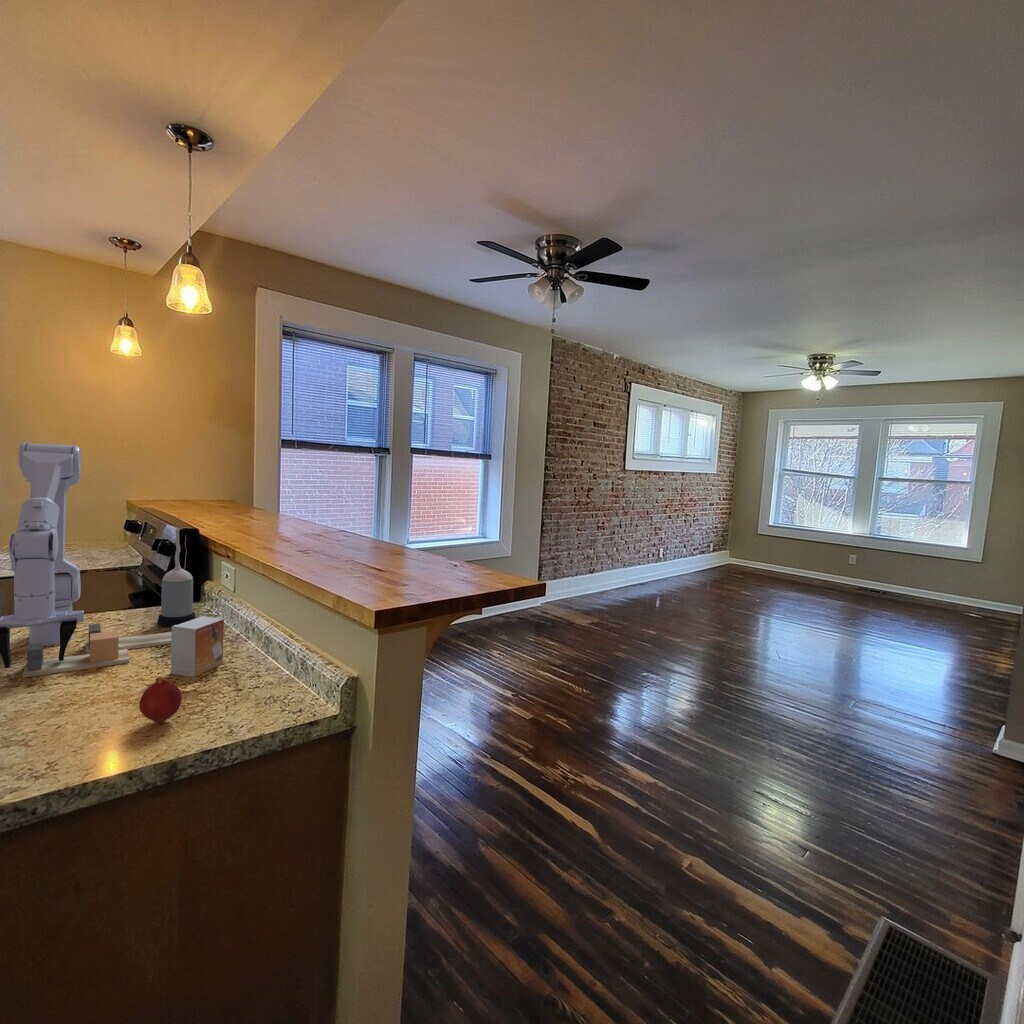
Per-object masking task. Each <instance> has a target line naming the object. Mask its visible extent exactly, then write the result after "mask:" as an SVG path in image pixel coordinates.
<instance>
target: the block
mask: <svg viewBox="0 0 1024 1024" xmlns="http://www.w3.org/2000/svg"><path fill="white" fill-rule="evenodd" d="M118 632H119V631H118V630H114V631H113V630H112V631H105V632H101V633H94V634H90V662H98V661H105V660H112V659H118V638H119V633H118Z"/></svg>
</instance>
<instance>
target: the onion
mask: <svg viewBox="0 0 1024 1024" xmlns="http://www.w3.org/2000/svg"><path fill="white" fill-rule="evenodd" d="M182 695H183V694H182V691H181V690H180V688H179V687H178V686H177V685H176V684H175V683H174V682H172V681H171V680H167V679H166V678H165V677H164V676H158V677H157V678H155V682H153V683H151V684H150V685H149V686H148V687H147V688H146V689H145V690H144V691H143V693H142V695H141V697H140V699H139V705H138V707H139V708H138V709H139V711H140V713H141V715H143V717H145V718H146V719H148V720H151V721H153V722H155V723H156V724H159V725H160V724H163V723H165V722H166V721H168V720H169V719H170V718H171V717H173V716H174V715H175V714H176V713H177V711H178V710H179V708H180V707H181V704H182V700H183V696H182Z"/></svg>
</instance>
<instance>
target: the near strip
mask: <svg viewBox="0 0 1024 1024" xmlns="http://www.w3.org/2000/svg"><path fill="white" fill-rule="evenodd" d="M128 650H129V649H124V650H118V659H112V660H105V661H98V662H90V654H79V655H70V656H64V660H63V661H59V657H56V658H47V659H46V658H45V659H44V646H43V641H40V642H31V643H28V646H27V649H26V663H25V666H24V669H23V673H22V678H29V677H37V676H43V675H51V674H59V673H64V672H71V671H78V670H85V669H92V668H101V667H107V666H113V665H114V666H115V665H121V664H128V663H130V656H129V651H128Z"/></svg>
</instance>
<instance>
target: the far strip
mask: <svg viewBox="0 0 1024 1024" xmlns="http://www.w3.org/2000/svg"><path fill="white" fill-rule="evenodd" d="M101 631H102V629H101V622H99V623H90V624H88V641H85V654H90V634H94V633H102V632H101ZM171 636H172V631H167V632H160V633H159V632H158V633H150V634H141V635H134V636H125V637H118V650H124V649H128V650H133V649H141V648H142V649H143V648H147V647H156V646H164V645H171ZM85 654H84V655H85Z"/></svg>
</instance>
